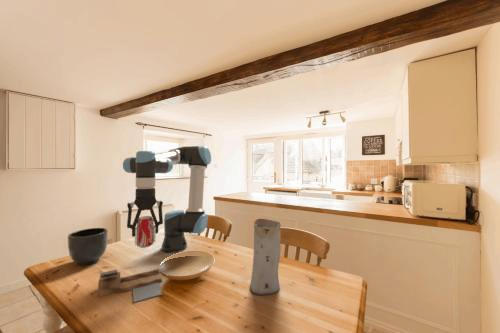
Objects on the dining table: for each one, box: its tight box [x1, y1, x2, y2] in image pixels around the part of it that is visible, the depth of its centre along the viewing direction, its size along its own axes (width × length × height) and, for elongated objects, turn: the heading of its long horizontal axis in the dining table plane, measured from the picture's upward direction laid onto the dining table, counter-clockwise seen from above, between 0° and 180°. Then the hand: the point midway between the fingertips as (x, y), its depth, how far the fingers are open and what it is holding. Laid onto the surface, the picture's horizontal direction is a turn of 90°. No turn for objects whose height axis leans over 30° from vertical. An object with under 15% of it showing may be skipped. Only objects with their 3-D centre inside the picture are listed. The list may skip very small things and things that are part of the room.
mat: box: [132, 282, 163, 304], centre depth 89 cm, size 10×10×1 cm
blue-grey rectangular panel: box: [99, 269, 120, 278], centre depth 89 cm, size 7×1×8 cm
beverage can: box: [136, 215, 154, 249], centre depth 91 cm, size 6×6×12 cm
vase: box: [249, 218, 282, 296], centre depth 92 cm, size 13×14×28 cm
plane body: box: [97, 269, 163, 297], centre depth 95 cm, size 24×10×5 cm, turn 120°
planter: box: [67, 227, 108, 266], centre depth 118 cm, size 17×17×16 cm
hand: (145, 242), depth 91 cm, fingers closed on beverage can, 6 cm apart
